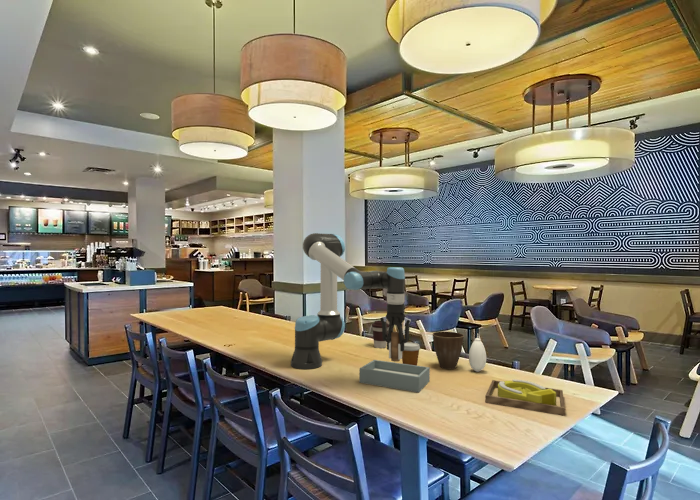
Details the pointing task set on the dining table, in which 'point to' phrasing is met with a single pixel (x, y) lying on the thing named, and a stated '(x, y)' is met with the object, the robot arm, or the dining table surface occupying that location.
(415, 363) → the disposable coffee cup
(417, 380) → the tray
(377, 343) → the coffee cup
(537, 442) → the dining table surface
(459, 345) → the plant pot
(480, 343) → the white bulb air blower
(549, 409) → the brown wooden frame
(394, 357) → the dowel
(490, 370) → the dining table surface
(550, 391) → the yellow-green curved block
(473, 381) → the dining table surface
